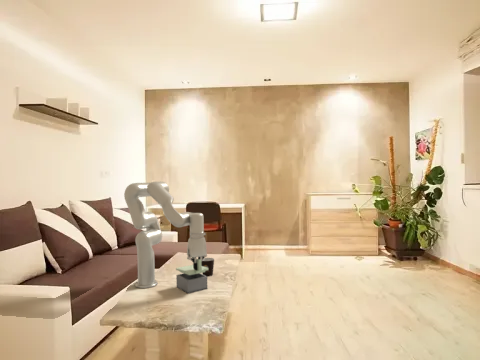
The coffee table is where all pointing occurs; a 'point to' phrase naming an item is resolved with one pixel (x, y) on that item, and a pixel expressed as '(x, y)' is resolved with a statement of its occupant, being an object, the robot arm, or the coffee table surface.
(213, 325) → the coffee table surface
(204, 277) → the tub
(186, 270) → the lid
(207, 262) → the coffee mug
